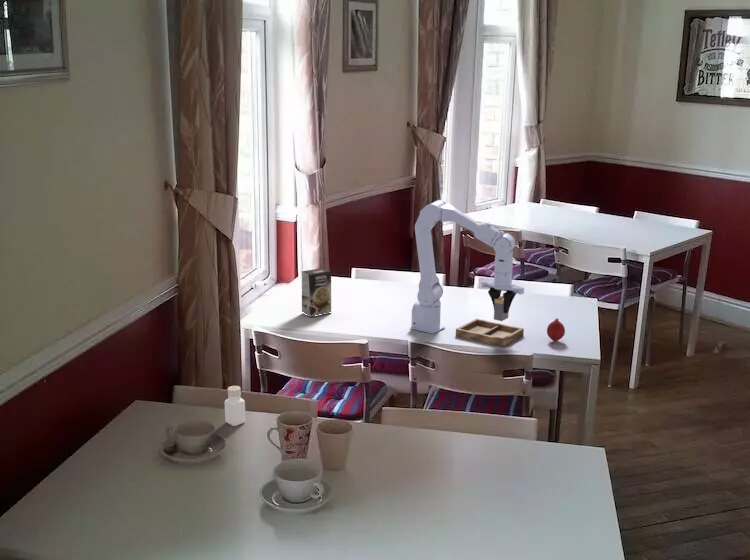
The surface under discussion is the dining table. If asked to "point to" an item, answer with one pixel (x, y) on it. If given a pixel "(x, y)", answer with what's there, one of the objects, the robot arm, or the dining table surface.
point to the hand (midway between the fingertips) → (501, 311)
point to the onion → (555, 330)
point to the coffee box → (316, 291)
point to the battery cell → (499, 309)
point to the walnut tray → (489, 332)
